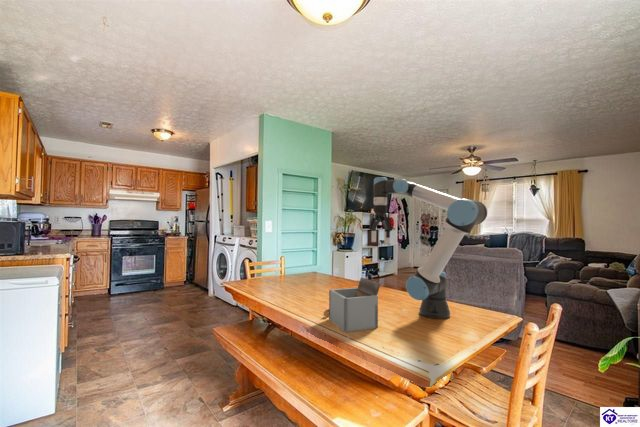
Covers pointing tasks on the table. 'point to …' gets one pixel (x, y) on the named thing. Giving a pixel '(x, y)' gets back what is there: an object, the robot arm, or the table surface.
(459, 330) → the table surface
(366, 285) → the trapdoor
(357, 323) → the grey box
